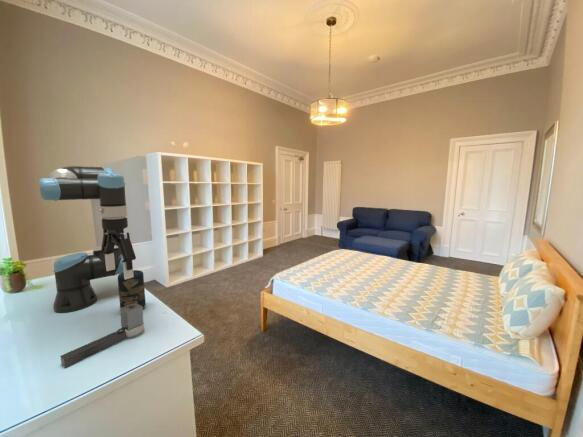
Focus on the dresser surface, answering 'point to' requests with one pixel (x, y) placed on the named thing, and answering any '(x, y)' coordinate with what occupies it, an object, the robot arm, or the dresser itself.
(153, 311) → the dresser surface
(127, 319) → the socket
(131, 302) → the canister
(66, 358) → the ratchet
